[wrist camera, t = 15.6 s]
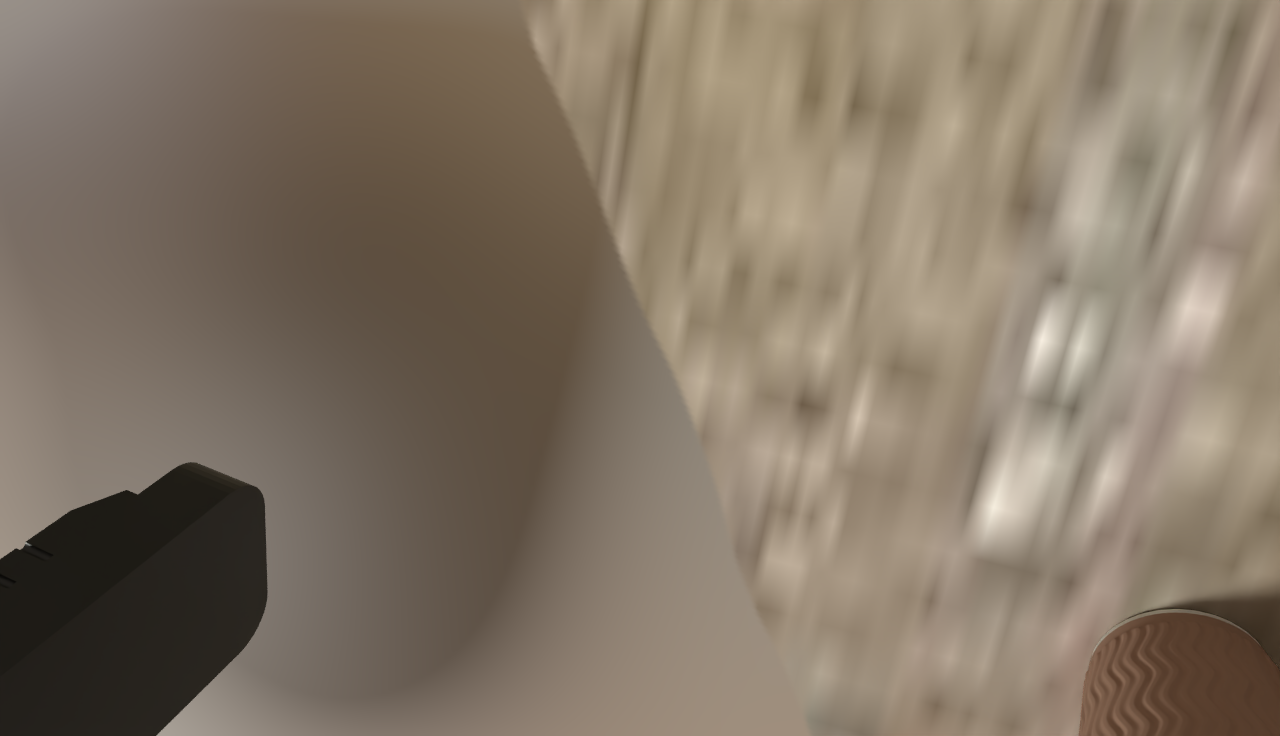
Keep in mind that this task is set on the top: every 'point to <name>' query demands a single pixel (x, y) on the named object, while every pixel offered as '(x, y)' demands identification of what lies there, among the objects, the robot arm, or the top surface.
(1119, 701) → the coffee cup
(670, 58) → the top surface
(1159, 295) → the top surface
